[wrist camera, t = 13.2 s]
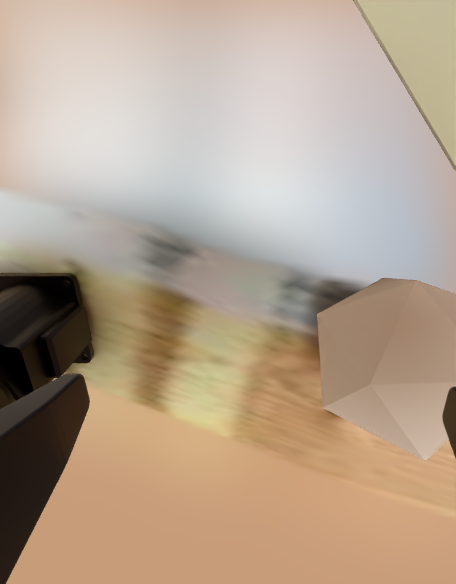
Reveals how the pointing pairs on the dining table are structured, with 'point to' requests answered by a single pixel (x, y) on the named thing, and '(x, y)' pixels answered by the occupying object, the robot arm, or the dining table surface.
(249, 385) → the dining table surface
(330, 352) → the die
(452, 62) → the mat
